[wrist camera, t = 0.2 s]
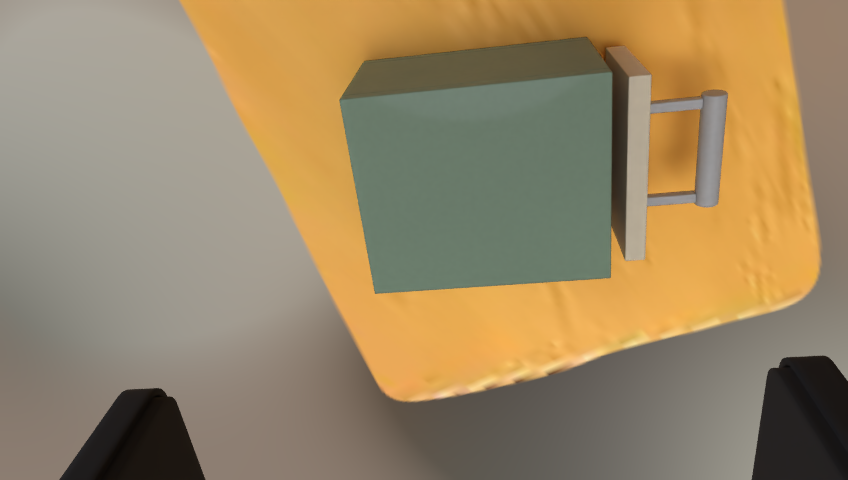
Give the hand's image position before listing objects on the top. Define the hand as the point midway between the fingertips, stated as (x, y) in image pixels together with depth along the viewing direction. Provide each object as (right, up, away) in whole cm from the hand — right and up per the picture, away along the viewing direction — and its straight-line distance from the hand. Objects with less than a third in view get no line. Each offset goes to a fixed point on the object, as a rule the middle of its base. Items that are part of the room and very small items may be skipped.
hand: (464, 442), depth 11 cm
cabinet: (+3, +10, +36) cm, 37 cm away
